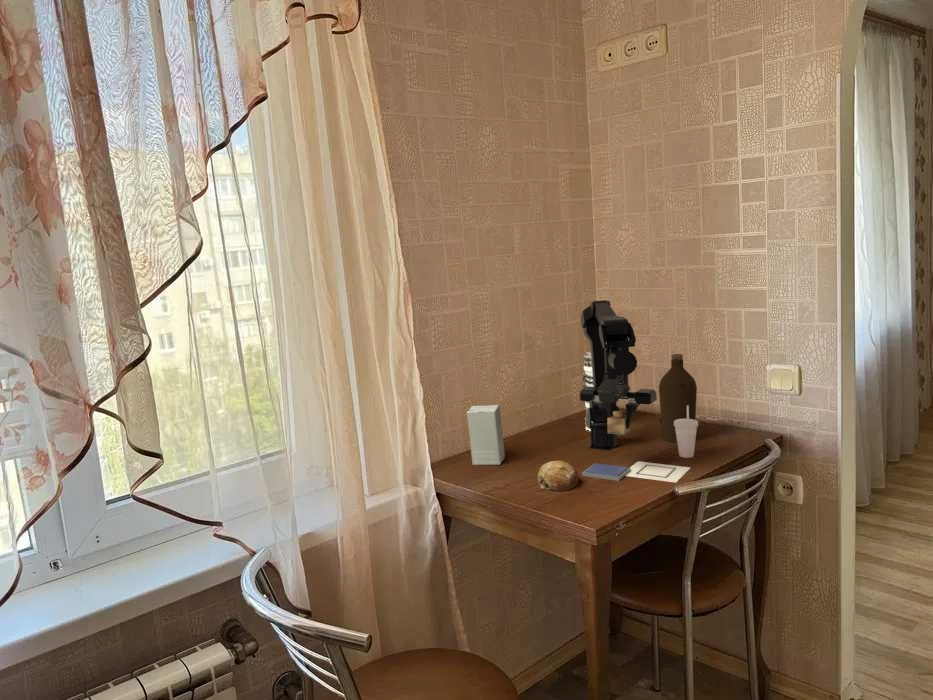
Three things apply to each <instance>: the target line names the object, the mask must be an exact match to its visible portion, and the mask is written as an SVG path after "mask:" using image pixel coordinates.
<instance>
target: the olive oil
mask: <svg viewBox="0 0 933 700" xmlns="http://www.w3.org/2000/svg"><path fill="white" fill-rule="evenodd" d="M670 355H671V359H670V365H671V367H670V369H669V370H668V371H667V372H666V373H665V374H664V375H663V376H662V377H661V379H660V380H659V384H658V395H659V408H660V419H659V422H660V424H661V438H662V439H663V440H664V441H666V442H670V443H677V437H676V430H675V426H674V421H675V420H677V419H687V406H689V419H694V420H697V418H696V416H697V415H696V414H697V394H698V393H697V391H698V387H697V383H696V380H695V379H694V377H693V376H692V375H691V374H690V372H688V371H687V369H685V368H684V359H683V354H681V353H672V354H670Z"/></svg>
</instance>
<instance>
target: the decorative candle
mask: <svg viewBox="0 0 933 700" xmlns="http://www.w3.org/2000/svg"><path fill="white" fill-rule="evenodd" d="M582 357H583V363H584V365H583V371H582V373H581V375H582V377H581V379H582V381H583V383H582V386H583V389H584V388H586V387H594V385H593V372H592V360H591V349H590V350H587V351H586V353H585V354H584V355H582ZM589 402H590V401H584V405H585V406H584V415H585V417H584V421H585V423H584V426H585V429H586V430H585V431H587V430H589V431H588V432H590V431H591V429H589V427H588V426H587V421H586V417H587V412H588V408H590V407H589ZM592 422H593V421H592Z"/></svg>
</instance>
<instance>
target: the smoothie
mask: <svg viewBox="0 0 933 700" xmlns="http://www.w3.org/2000/svg"><path fill="white" fill-rule="evenodd" d="M674 426H675V430H676V437H677V442H676V443H677V449H678V456H679V457H681V458H688V459H689V458H693V457H694V455H695V446H696V438H697V429H698V427H699V421H698V420H697V419H696V420H694V419H689V406H687V419H677V420H675V421H674Z"/></svg>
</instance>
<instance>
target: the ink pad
mask: <svg viewBox="0 0 933 700" xmlns="http://www.w3.org/2000/svg"><path fill="white" fill-rule="evenodd" d="M630 471H631V468H630V467H627V466H622V465H621V466H619V465H611V464H603V463H593V464H591V465H590V466H589V467H587V468H586V469H585V470H584V471H582V472H581V476H582V477H587V478H590V477H591V478H596V479H603V480H609V481H611V480H612V481H617V482H620V481H621V480H622V479H623V478H624V477H626V476H625V475H626V474H627V473H629V472H630Z"/></svg>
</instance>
